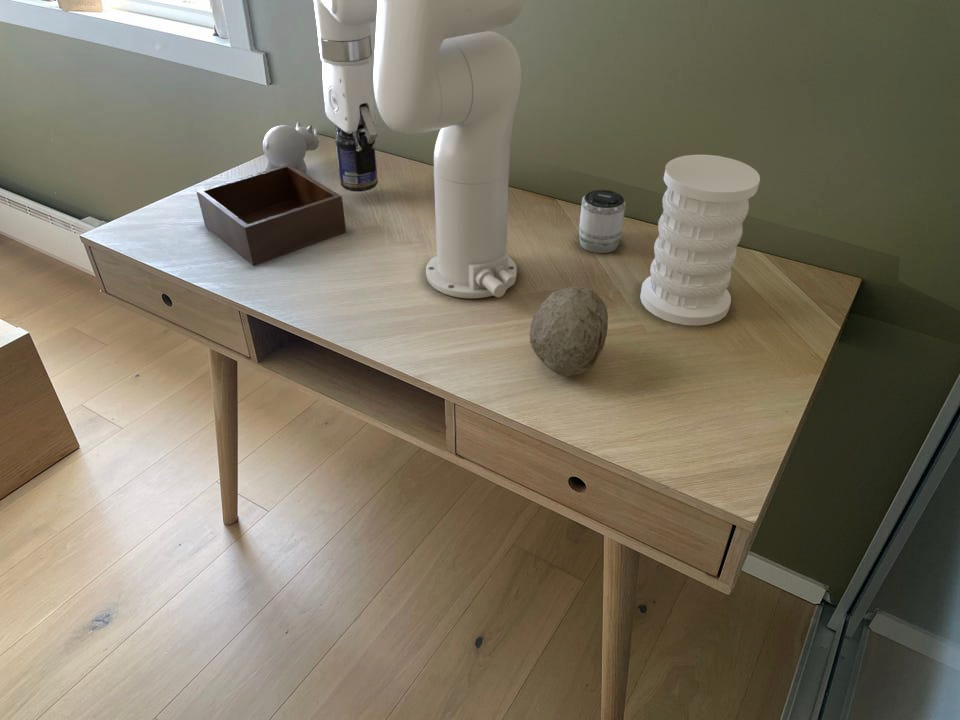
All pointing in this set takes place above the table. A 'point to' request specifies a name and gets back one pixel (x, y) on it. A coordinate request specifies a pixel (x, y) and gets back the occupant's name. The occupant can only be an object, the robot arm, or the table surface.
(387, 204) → the table surface
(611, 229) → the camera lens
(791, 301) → the table surface
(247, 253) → the box
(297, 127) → the toy rhinoceros
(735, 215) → the decorative container
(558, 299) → the decorative stone
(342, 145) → the pill bottle
